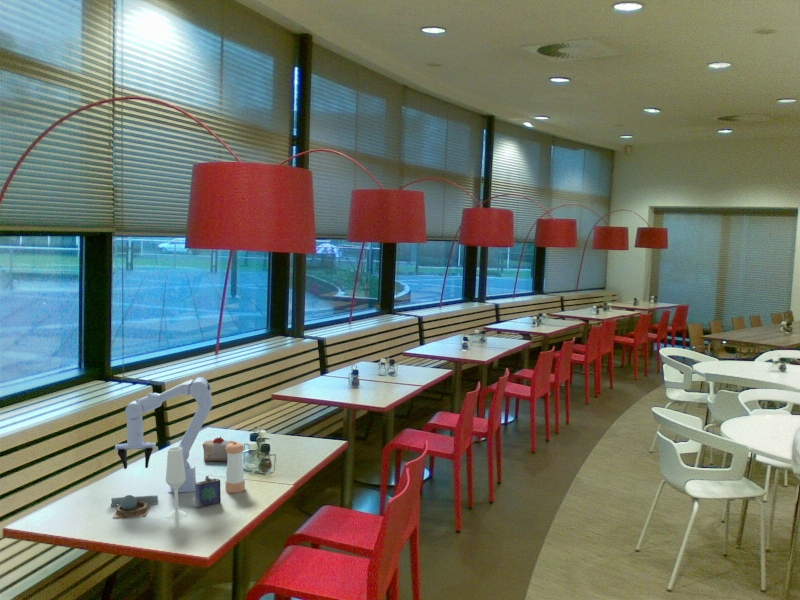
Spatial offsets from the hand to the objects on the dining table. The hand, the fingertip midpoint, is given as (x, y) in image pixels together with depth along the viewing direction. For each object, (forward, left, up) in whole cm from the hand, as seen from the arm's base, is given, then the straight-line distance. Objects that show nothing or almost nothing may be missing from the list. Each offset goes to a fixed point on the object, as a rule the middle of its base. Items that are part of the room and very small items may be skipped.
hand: (136, 467), depth 272 cm
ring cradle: (-2, +20, -9) cm, 22 cm away
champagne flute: (-18, +26, -10) cm, 33 cm away
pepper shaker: (-37, +4, -10) cm, 38 cm away
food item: (-28, -34, -10) cm, 45 cm away
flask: (-28, +18, -10) cm, 35 cm away
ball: (-1, +20, -6) cm, 21 cm away
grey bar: (-2, +12, -9) cm, 16 cm away
